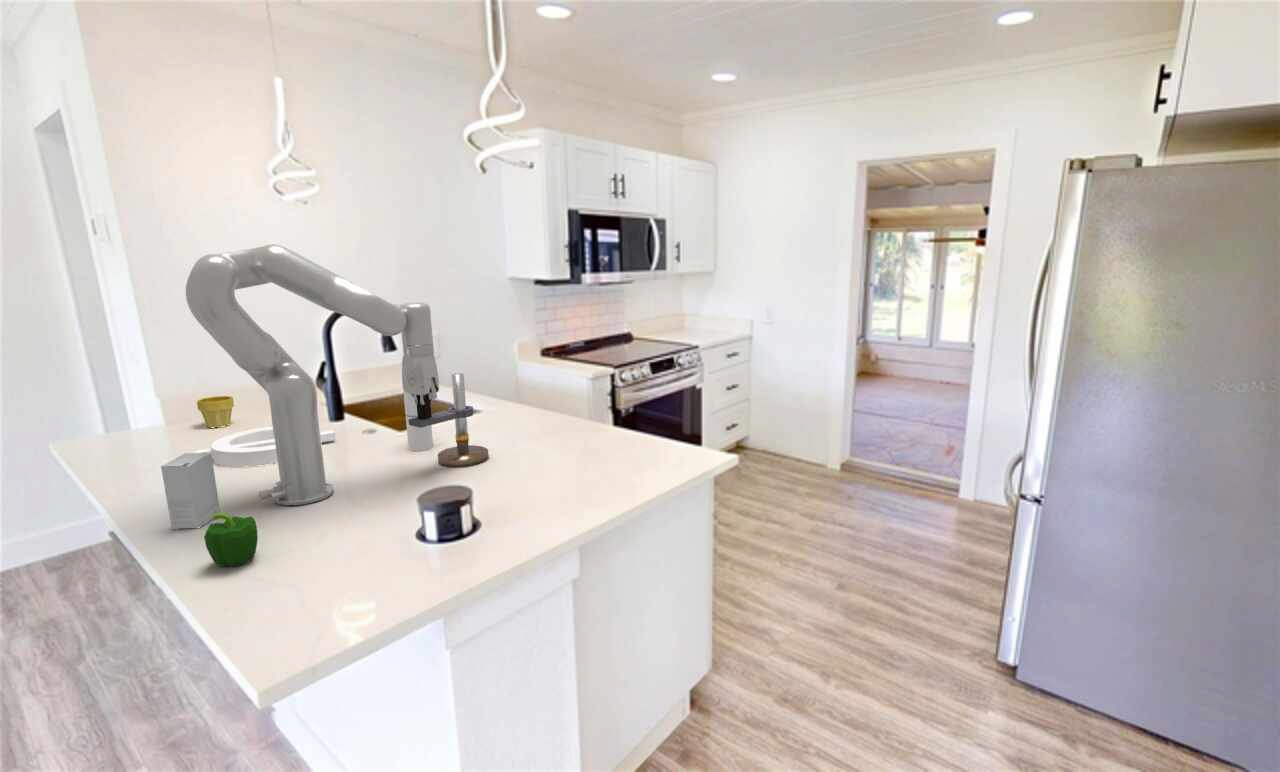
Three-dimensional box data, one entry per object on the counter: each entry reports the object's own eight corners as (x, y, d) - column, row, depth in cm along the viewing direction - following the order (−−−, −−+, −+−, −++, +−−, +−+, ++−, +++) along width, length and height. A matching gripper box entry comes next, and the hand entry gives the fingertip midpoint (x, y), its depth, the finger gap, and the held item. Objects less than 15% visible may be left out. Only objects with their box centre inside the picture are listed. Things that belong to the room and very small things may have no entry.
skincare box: (194, 514, 136) (184, 452, 133) (222, 513, 137) (212, 451, 134) (170, 531, 128) (158, 464, 125) (200, 529, 129) (188, 463, 126)
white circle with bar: (188, 465, 170) (186, 449, 169) (265, 437, 197) (263, 423, 196) (274, 471, 165) (272, 454, 164) (341, 441, 192) (340, 427, 191)
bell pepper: (271, 551, 119) (265, 504, 117) (243, 572, 111) (235, 522, 109) (230, 550, 119) (223, 503, 117) (199, 571, 111) (190, 521, 109)
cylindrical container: (437, 444, 187) (430, 365, 182) (426, 451, 180) (420, 370, 175) (415, 443, 188) (408, 365, 183) (404, 450, 181) (396, 369, 176)
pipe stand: (459, 470, 164) (453, 381, 158) (427, 461, 171) (420, 375, 166) (498, 457, 175) (493, 373, 170) (467, 448, 183) (461, 368, 178)
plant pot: (235, 420, 217) (231, 394, 215) (238, 426, 209) (234, 399, 207) (200, 425, 211) (195, 398, 209) (201, 431, 203) (197, 403, 201)
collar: (422, 429, 156) (422, 421, 156) (407, 425, 160) (406, 418, 160) (478, 414, 171) (477, 407, 171) (462, 411, 175) (461, 404, 175)
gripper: (388, 350, 158) (395, 417, 162) (424, 354, 149) (430, 425, 153) (413, 346, 164) (419, 411, 168) (448, 350, 155) (454, 419, 159)
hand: (424, 418), depth 161 cm, fingers closed
